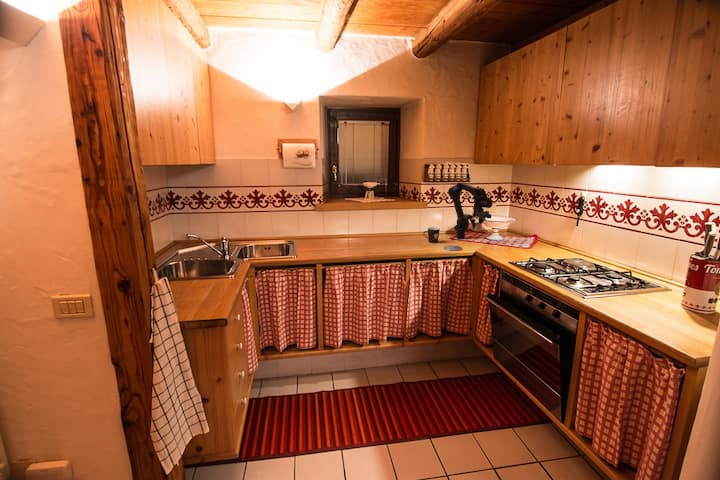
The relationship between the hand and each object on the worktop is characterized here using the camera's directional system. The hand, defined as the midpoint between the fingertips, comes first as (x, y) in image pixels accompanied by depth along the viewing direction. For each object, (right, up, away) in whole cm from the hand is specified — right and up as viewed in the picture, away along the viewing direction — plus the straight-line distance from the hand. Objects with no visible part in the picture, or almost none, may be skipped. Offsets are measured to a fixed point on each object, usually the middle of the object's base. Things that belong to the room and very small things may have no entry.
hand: (476, 228), depth 250 cm
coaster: (-20, -14, -12) cm, 27 cm away
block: (0, -1, 0) cm, 1 cm away
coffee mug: (-31, -10, +5) cm, 33 cm away
